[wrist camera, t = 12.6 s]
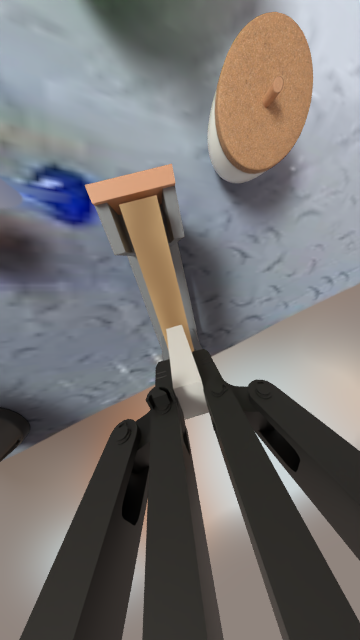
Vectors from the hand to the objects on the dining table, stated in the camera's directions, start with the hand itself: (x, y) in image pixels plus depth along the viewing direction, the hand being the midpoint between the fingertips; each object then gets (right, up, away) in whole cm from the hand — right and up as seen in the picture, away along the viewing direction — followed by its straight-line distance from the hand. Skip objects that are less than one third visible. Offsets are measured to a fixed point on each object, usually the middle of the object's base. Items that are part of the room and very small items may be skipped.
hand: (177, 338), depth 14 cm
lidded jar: (+8, +28, +9) cm, 31 cm away
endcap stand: (-3, +7, +16) cm, 18 cm away
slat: (-1, +3, +8) cm, 9 cm away
